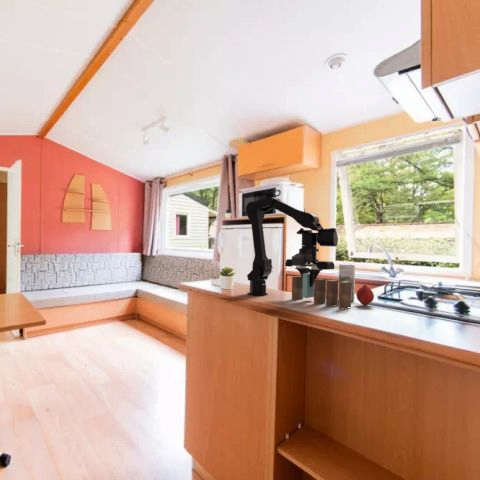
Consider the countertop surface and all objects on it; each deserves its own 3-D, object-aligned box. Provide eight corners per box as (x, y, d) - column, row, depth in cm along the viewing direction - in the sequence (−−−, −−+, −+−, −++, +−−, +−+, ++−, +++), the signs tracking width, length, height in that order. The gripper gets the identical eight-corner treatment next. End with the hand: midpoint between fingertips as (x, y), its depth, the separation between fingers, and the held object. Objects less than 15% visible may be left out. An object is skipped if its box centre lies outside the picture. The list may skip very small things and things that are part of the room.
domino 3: (313, 303, 110) (314, 279, 110) (320, 302, 114) (321, 278, 114) (318, 304, 109) (319, 279, 109) (325, 302, 112) (325, 278, 112)
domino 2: (302, 297, 114) (302, 273, 114) (309, 296, 117) (309, 273, 117) (306, 298, 113) (307, 274, 113) (313, 296, 116) (314, 273, 116)
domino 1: (291, 299, 118) (292, 276, 118) (298, 298, 121) (299, 275, 121) (295, 300, 116) (296, 277, 116) (303, 298, 119) (303, 276, 120)
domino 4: (325, 305, 107) (326, 280, 107) (332, 304, 110) (333, 279, 110) (331, 306, 105) (331, 281, 105) (337, 305, 109) (338, 280, 109)
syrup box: (354, 299, 121) (355, 263, 121) (353, 301, 116) (354, 264, 116) (339, 298, 123) (340, 262, 124) (338, 300, 118) (338, 263, 118)
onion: (353, 304, 111) (353, 282, 111) (368, 304, 111) (368, 282, 111) (361, 307, 105) (361, 284, 105) (376, 307, 105) (377, 284, 106)
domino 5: (338, 308, 103) (339, 282, 103) (345, 306, 106) (346, 281, 107) (344, 309, 102) (344, 282, 102) (351, 307, 105) (351, 281, 105)
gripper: (276, 245, 116) (276, 285, 116) (319, 246, 103) (318, 291, 103) (294, 245, 124) (293, 283, 124) (335, 246, 111) (334, 288, 110)
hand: (308, 286), depth 115 cm, fingers closed on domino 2, 2 cm apart
